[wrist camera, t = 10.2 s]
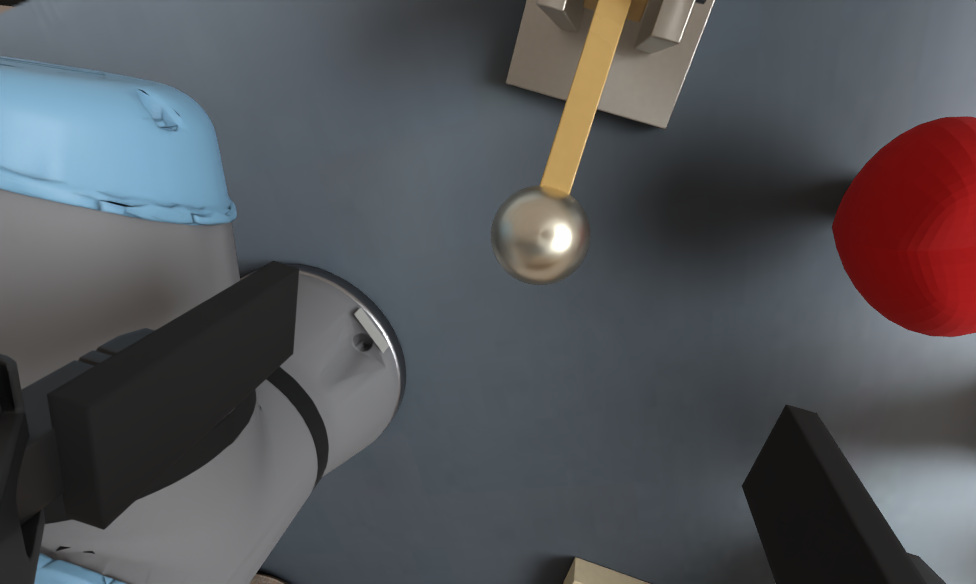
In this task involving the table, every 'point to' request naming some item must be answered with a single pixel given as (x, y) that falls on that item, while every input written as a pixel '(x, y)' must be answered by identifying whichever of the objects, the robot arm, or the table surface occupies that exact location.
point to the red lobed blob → (916, 229)
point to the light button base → (596, 575)
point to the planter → (266, 579)
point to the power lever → (562, 167)
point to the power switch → (636, 63)
